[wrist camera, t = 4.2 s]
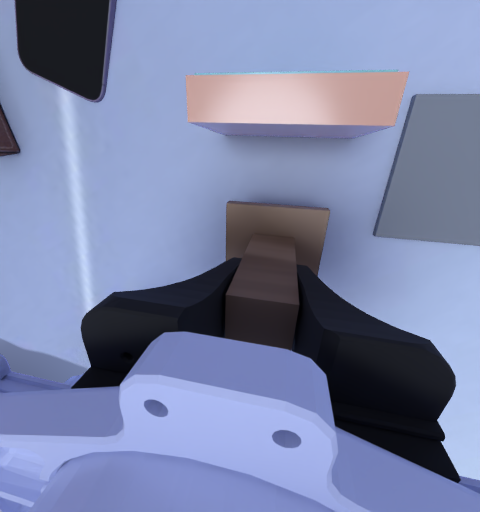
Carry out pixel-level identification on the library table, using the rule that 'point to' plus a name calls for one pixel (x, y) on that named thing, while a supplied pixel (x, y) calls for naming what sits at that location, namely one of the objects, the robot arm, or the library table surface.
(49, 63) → the smartphone
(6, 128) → the letter holder
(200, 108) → the tile
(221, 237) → the library table surface
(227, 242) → the stamp
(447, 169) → the mat
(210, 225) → the library table surface
